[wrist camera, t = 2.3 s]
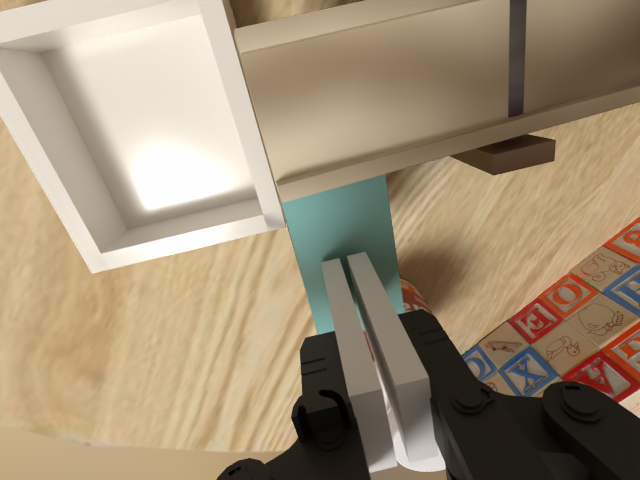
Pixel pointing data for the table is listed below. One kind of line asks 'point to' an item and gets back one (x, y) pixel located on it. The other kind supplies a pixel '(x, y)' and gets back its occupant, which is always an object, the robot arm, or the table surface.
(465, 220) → the table surface
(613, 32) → the lever
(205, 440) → the table surface
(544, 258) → the table surface
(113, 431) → the table surface
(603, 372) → the stack of blocks
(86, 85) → the white square tray
